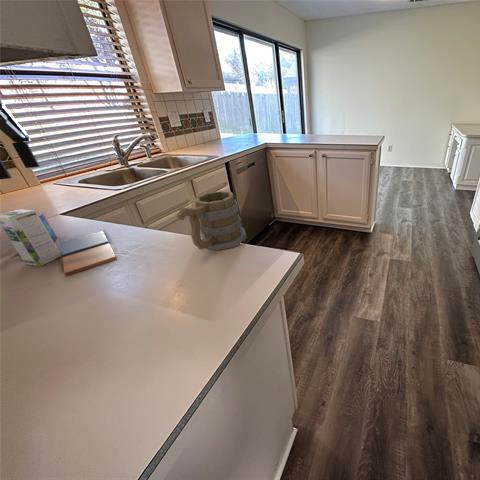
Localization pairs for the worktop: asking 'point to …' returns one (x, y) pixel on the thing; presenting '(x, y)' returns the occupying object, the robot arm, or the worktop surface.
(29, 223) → the syrup box
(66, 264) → the amber mat
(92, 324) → the worktop surface
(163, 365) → the worktop surface
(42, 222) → the flask
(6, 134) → the robot arm
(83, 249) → the slate mat
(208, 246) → the tankard
